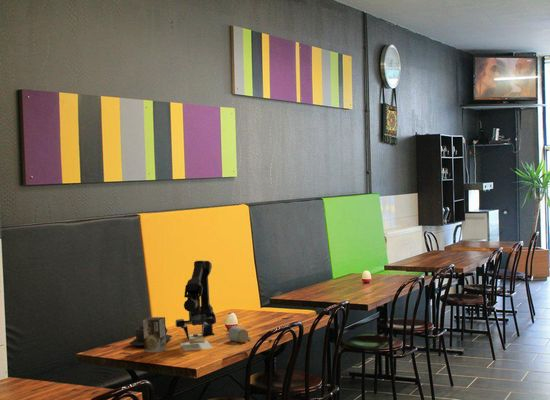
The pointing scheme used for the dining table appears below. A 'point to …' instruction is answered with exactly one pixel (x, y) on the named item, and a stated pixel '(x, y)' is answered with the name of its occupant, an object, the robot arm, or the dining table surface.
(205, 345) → the mat
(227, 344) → the dining table surface
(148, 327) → the coffee box
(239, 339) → the ceramic mug
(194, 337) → the lid
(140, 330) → the casserole
